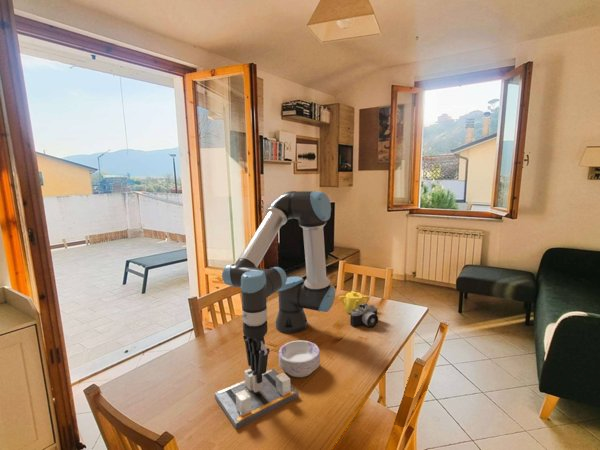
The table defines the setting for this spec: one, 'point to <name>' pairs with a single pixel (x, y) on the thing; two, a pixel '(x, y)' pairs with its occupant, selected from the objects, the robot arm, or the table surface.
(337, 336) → the table surface
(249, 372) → the breaker
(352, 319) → the camera
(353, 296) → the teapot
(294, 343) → the paper bowls
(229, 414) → the panel
